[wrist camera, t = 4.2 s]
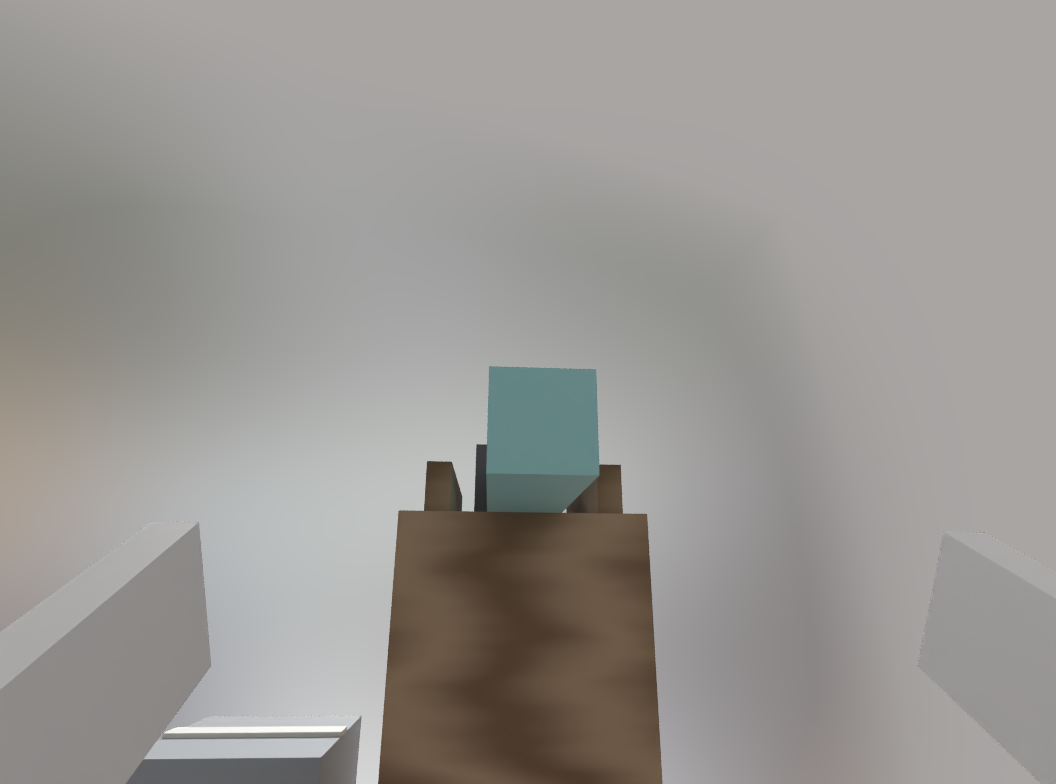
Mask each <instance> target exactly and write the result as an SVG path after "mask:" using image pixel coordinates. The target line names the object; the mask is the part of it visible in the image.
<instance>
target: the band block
mask: <svg viewBox="0 0 1056 784" xmlns="http://www.w3.org/2000/svg"><path fill="white" fill-rule="evenodd" d="M360 727H361V716H242V717H206V718H204V719H203V720H200V721H198V722H196V723H194V724H192V725H189V726H187V727H176V728H174V729H172V730H169V731H167V732H165V733H163V736H162V739H160V740H158V741H156V743H155V744H154V745H153V747H152V748H151V749H150V751H149V752H148V754H147V755H146V756H145V758H144V759H143V760H142V762H141V763H140V765H139V766H138V767H137V769H136V770H135V771H134V773H133V774H132V776H131V777H130V778H129V780H128V781H127V782H126V784H356V774H357V761H358V750H359V738H360Z"/></svg>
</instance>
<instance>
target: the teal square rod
mask: <svg viewBox="0 0 1056 784" xmlns="http://www.w3.org/2000/svg"><path fill="white" fill-rule="evenodd" d="M598 476H599V446H598V416H597V384H596V370H593V369H560V368H557V369H556V368H525V367H489V396H488V432H487V445H478V444H477V448H476V477H475V506H474V512H538V513H562V512H563V511H564V510H565V509H566V508H567V507H568V506H569V505H570V504H571V503H572V502H573V501H574V500H575V499H576V498H577V497H578V496H579V495H580V494H581V493H582V492H583V491H584V490H585V489H586V488H587V487H588V486H589V485H590V484H591V483H592V482H593V481H594V480H595V479H596V478H597V477H598Z"/></svg>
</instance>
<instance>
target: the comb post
mask: <svg viewBox="0 0 1056 784" xmlns="http://www.w3.org/2000/svg"><path fill="white" fill-rule="evenodd" d="M656 682H657V681H656V664H655V646H654V629H653V611H652V593H651V576H650V559H649V541H648V523H647V514H623V509H622V486H621V465H599V476H598V477H597V478H596V479H595V480H594V481H593V482H592V483H591V484H590V485H589V486H588V487H587V488H586V489H585V490H584V491H583V492H582V493H581V494H580V495H579V496H578V497H577V498H576V499H575V500H574V501H573V502H572V503H571V504H570V505H569V506H568V507H567V513H538V512H466V511H465V512H463V511H462V495H461V492H460V488H459V484H458V481H457V478H456V474H455V471H454V468H453V464H452V462H435V461H434V462H433V461H428V462H427V473H426V489H425V504H424V511H399V514H398V527H397V540H396V553H395V568H394V580H393V593H392V607H391V620H390V634H389V647H388V660H387V674H386V687H385V700H384V714H383V728H382V741H381V754H380V768H379V781H378V784H662V769H661V751H660V733H659V716H658V699H657V683H656Z"/></svg>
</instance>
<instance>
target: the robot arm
mask: <svg viewBox="0 0 1056 784" xmlns="http://www.w3.org/2000/svg"><path fill="white" fill-rule="evenodd" d="M917 666H918V667H919V668H920V669H921V670H922V671H923V672H924V673H925V674H926V675H927V676H928V677H929V678H931V679H932V680H933V681H934V682H935V683H936V684H937V685H938V686H939V687H940V688H941V689H942V690H943V691H944V692H945V693H946V694H947V695H948V696H949V697H950V698H952V699H953V700H954V701H955V702H956V703H957V704H958V705H959V706H960V707H961V708H962V709H963V710H964V711H965V712H966V713H967V714H968V715H970V717H972V718H973V719H974V720H975V721H976V722H977V723H978V724H979V725H980V726H981V727H982V728H983V729H984V730H985V731H986V732H987V733H989V735H990V736H991V737H992V738H994V739H995V740H996V741H997V742H998V743H999V744H1000V745H1001V746H1002V747H1003V748H1004V749H1005V750H1006V751H1007V752H1008V753H1009V754H1011V756H1013V758H1015V759H1016V760H1017V761H1018V762H1019V763H1020V764H1021V765H1022V766H1023V767H1024V768H1025V769H1026V770H1027V771H1028V772H1029V773H1030V774H1031V775H1032V776H1034V777H1035V778H1036V779H1037V780H1038V781H1039V782H1040V783H1041V784H1056V571H1054V570H1052V569H1050V568H1048V567H1047V566H1045V565H1043V564H1041V563H1039V562H1037V561H1036V560H1034V559H1032V558H1030V557H1028V556H1026V555H1025V554H1023V553H1021V552H1019V551H1017V550H1015V549H1014V548H1012V547H1010V546H1008V545H1006V544H1004V543H1003V542H1001V541H999V540H997V539H995V538H993V537H991V536H990V535H988V534H986V533H984V532H944V533H943V538H942V543H941V548H940V553H939V558H938V563H937V568H936V573H935V578H934V584H933V589H932V594H931V599H930V604H929V609H928V614H927V619H926V624H925V629H924V635H923V640H922V645H921V650H920V655H919V660H918V665H917ZM210 667H211V659H210V647H209V635H208V623H207V612H206V601H205V588H204V576H203V565H202V553H201V542H200V531H199V522H151V523H149V524H148V525H147V526H145V527H144V528H143V529H141V530H140V531H138V532H137V533H136V534H134V535H133V536H132V537H130V538H129V539H127V540H126V541H125V542H123V543H122V544H121V545H119V546H118V547H116V548H115V549H114V550H112V551H111V552H110V553H108V554H107V555H105V556H104V557H103V558H101V559H100V560H99V561H97V562H96V563H94V564H93V565H92V566H90V567H89V568H88V569H86V570H85V571H83V572H82V573H81V574H79V575H78V576H77V577H75V578H74V579H72V580H71V581H70V582H68V583H67V584H66V585H64V586H63V587H62V588H60V589H59V590H58V591H56V592H55V593H53V594H52V595H51V596H49V597H48V598H46V599H45V600H44V601H43V602H41V603H40V604H38V605H37V606H36V607H34V608H33V609H31V610H30V611H29V612H27V613H26V614H24V615H23V616H22V617H20V618H19V619H18V620H16V621H15V622H13V623H12V624H11V625H9V626H8V627H7V628H5V629H4V630H3V631H1V632H0V784H126V782H127V781H128V780H129V778H130V777H131V776H132V774H133V773H134V771H135V770H136V769H137V767H138V766H139V765H140V763H141V762H142V760H143V759H144V758H145V756H146V755H147V754H148V752H149V751H150V749H151V748H152V747H153V745H154V744H155V743H156V741H157V740H158V738H159V737H160V736H161V734H162V733H163V731H164V730H165V729H166V727H167V726H168V725H169V723H170V722H171V720H172V719H173V718H174V716H175V715H176V714H177V712H178V711H179V709H180V708H181V707H182V705H183V704H184V702H185V701H186V700H187V698H188V697H189V695H190V694H191V693H192V692H193V690H194V689H195V687H196V686H197V685H198V683H199V682H200V681H201V679H202V678H203V676H204V675H205V674H206V672H207V671H208V669H209V668H210Z"/></svg>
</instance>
